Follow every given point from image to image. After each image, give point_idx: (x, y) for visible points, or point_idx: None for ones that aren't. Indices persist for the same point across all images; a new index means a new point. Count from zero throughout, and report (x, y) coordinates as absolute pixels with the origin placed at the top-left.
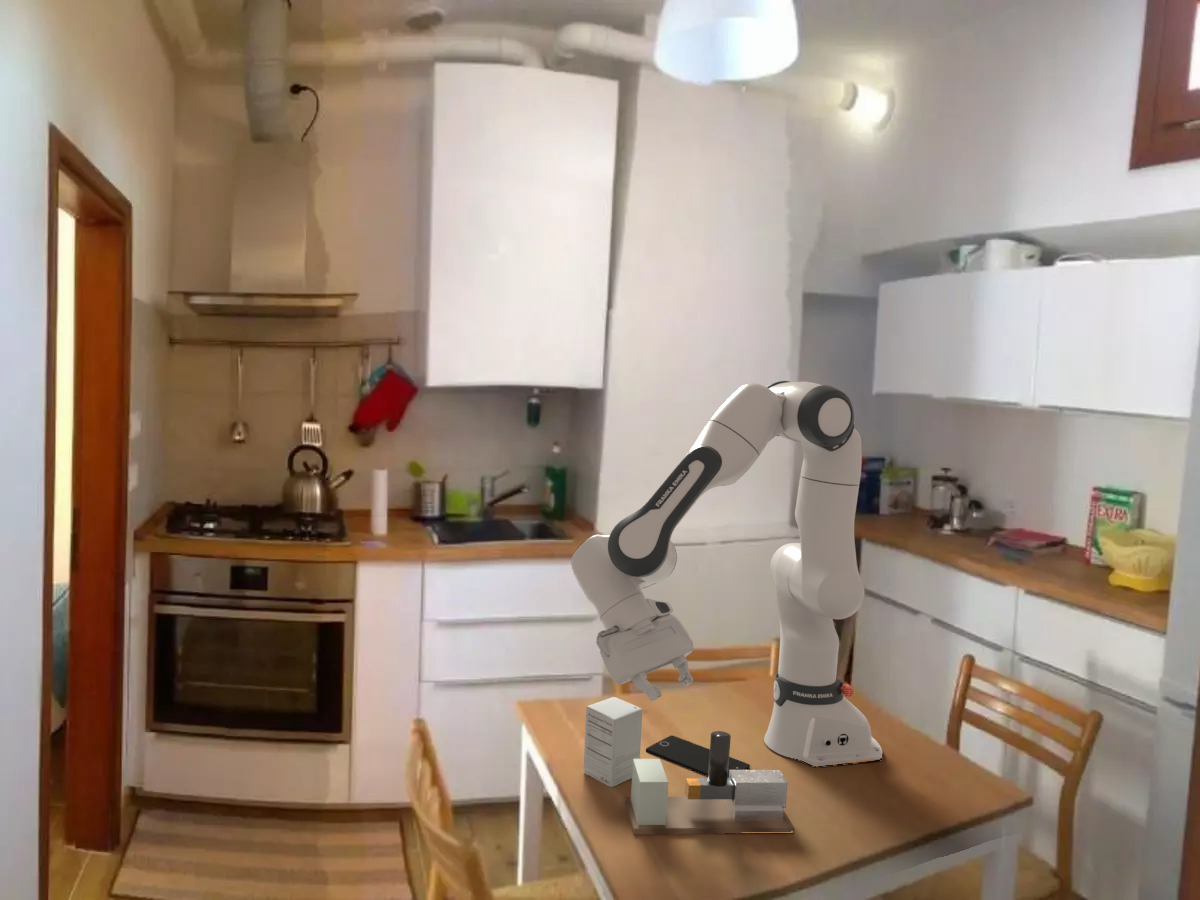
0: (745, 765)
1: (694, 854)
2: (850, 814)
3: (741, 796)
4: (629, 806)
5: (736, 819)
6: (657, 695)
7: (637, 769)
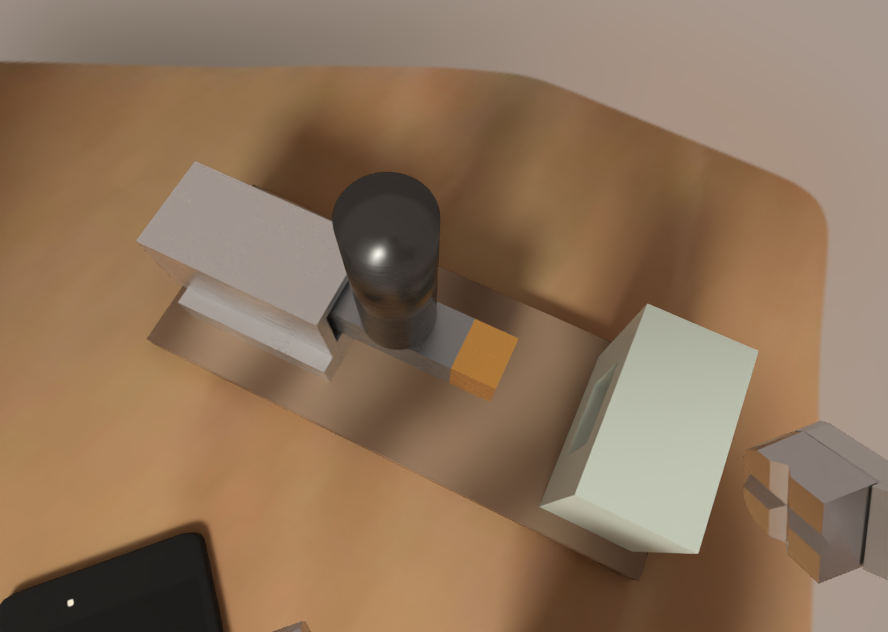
0: (22, 606)
1: (578, 234)
2: (22, 196)
3: None
4: None
5: None
6: (807, 428)
7: (724, 449)
